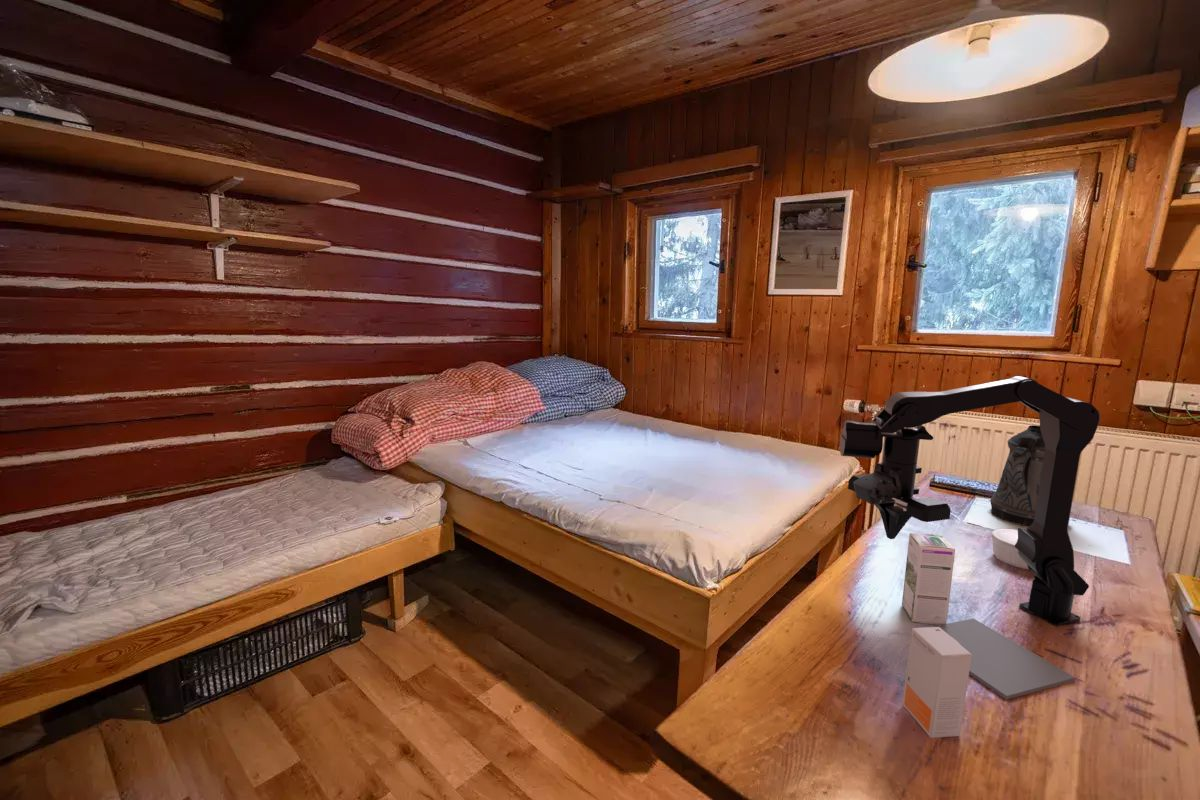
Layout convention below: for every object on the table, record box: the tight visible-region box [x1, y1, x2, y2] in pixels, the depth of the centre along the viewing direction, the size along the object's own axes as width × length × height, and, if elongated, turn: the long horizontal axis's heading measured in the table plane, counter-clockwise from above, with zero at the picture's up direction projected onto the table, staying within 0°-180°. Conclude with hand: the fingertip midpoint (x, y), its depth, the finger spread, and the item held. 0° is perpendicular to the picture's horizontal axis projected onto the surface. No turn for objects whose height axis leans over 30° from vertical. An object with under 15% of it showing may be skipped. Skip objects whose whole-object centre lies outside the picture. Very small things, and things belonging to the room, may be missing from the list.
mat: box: [933, 617, 1076, 701], centre depth 85 cm, size 14×16×1 cm
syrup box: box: [901, 532, 956, 626], centre depth 95 cm, size 6×6×14 cm
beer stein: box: [990, 424, 1045, 528], centre depth 141 cm, size 16×19×25 cm
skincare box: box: [901, 626, 972, 739], centre depth 71 cm, size 6×4×12 cm
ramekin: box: [991, 528, 1028, 570], centre depth 118 cm, size 11×11×5 cm
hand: (890, 538), depth 103 cm, fingers closed
